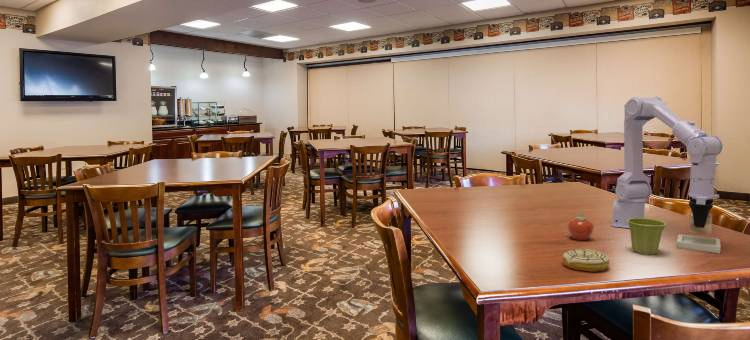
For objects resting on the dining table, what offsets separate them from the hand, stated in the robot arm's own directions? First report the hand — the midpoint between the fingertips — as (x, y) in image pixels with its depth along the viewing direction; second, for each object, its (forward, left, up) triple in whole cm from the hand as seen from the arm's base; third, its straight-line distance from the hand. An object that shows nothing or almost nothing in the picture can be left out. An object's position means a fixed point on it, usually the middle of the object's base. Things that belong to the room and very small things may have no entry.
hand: (699, 225), depth 131 cm
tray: (0, 0, -6) cm, 6 cm away
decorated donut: (-23, -36, -7) cm, 43 cm away
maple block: (0, 0, -2) cm, 2 cm away
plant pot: (-12, -14, -6) cm, 20 cm away
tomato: (-30, -9, -6) cm, 32 cm away
